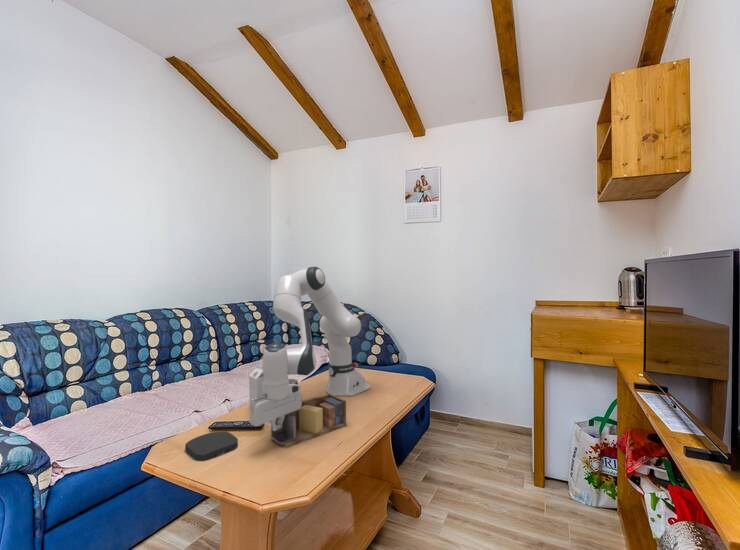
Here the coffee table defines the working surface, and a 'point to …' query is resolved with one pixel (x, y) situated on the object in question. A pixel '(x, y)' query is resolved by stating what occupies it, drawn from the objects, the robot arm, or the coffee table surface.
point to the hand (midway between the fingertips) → (277, 429)
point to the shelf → (310, 434)
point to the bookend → (286, 430)
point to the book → (310, 418)
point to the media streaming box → (211, 445)
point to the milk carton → (256, 382)
